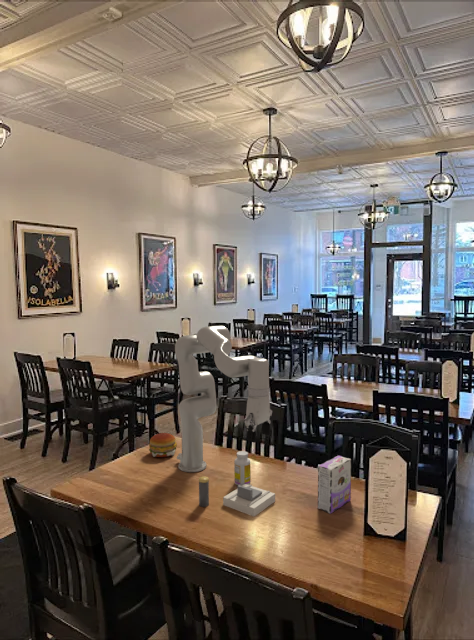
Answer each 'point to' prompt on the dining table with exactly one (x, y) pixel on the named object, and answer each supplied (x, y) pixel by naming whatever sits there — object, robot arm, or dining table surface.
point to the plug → (203, 491)
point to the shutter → (247, 492)
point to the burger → (162, 445)
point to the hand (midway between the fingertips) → (259, 437)
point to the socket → (249, 501)
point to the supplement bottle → (242, 469)
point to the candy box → (334, 484)
